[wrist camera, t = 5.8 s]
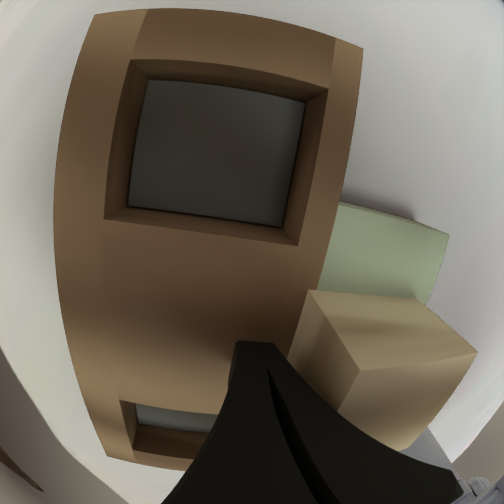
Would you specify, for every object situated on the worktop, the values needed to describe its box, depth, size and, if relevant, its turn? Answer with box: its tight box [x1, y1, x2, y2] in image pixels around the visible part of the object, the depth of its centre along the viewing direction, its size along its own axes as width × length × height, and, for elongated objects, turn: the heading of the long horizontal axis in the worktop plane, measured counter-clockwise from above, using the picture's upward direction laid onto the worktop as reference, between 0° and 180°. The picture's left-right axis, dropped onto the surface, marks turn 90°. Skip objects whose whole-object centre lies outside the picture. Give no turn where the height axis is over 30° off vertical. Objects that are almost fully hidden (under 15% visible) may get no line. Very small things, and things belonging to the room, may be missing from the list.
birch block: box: [287, 289, 478, 451], centre depth 8 cm, size 5×5×4 cm
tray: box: [53, 8, 450, 471], centre depth 11 cm, size 22×14×2 cm, turn 170°
